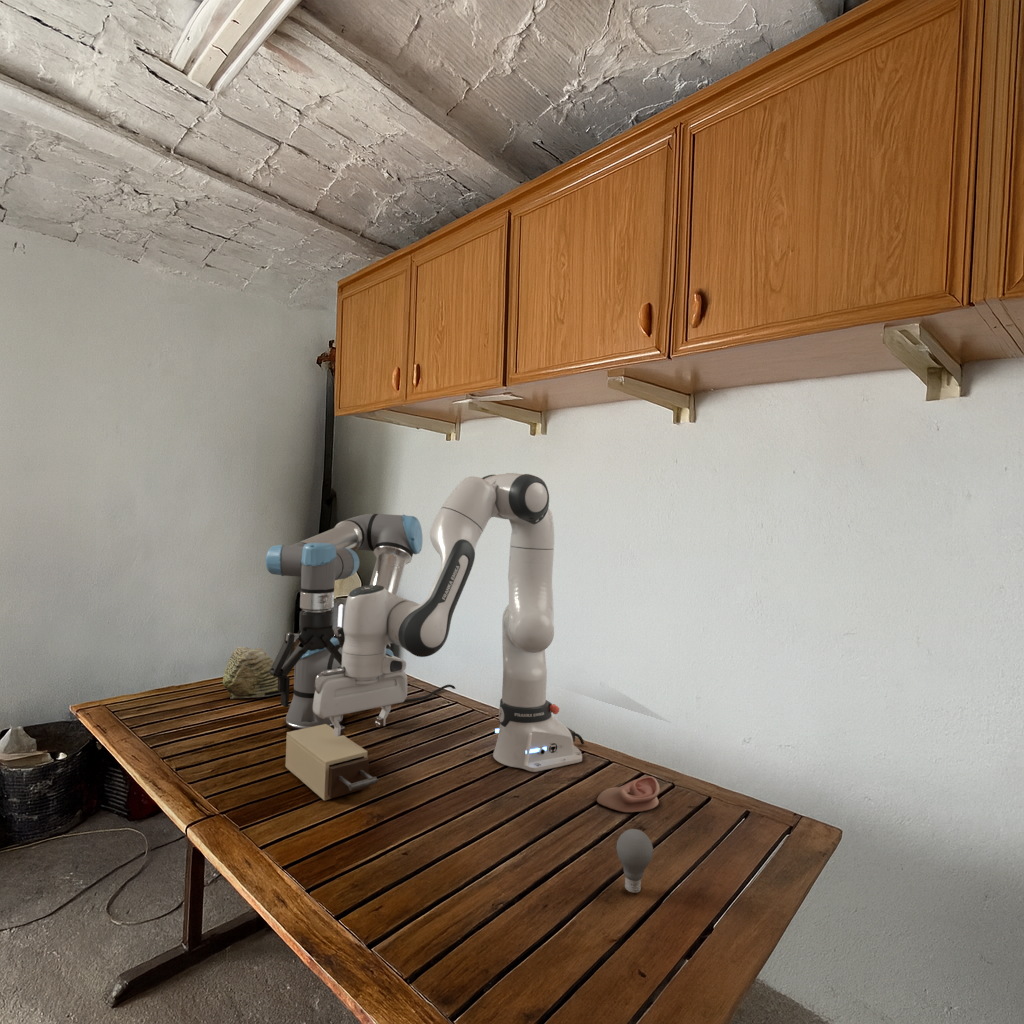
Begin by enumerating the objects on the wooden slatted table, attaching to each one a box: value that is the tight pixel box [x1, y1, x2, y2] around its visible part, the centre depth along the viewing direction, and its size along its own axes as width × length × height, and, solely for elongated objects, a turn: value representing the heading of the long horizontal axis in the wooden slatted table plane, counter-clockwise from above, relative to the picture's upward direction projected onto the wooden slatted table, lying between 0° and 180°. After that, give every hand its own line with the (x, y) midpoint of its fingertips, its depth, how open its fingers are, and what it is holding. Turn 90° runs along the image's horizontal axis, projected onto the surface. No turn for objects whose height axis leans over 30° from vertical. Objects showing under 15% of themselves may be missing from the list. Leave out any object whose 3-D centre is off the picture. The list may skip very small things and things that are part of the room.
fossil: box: [222, 646, 281, 699], centre depth 198 cm, size 9×18×15 cm, turn 132°
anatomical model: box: [596, 775, 661, 813], centre depth 138 cm, size 13×4×12 cm
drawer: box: [328, 756, 378, 800], centre depth 139 cm, size 26×9×6 cm, turn 42°
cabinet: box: [285, 724, 369, 801], centre depth 143 cm, size 21×10×8 cm, turn 42°
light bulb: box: [615, 828, 654, 894], centre depth 106 cm, size 6×6×10 cm
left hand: (313, 700), depth 148 cm, fingers open, 13 cm apart
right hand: (360, 730), depth 131 cm, fingers open, 8 cm apart
